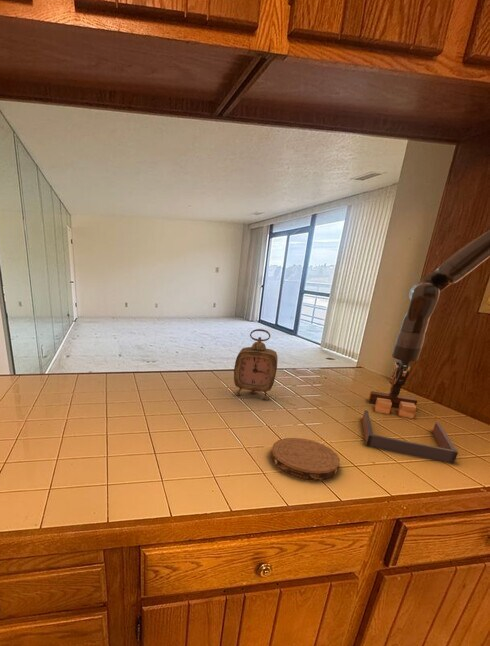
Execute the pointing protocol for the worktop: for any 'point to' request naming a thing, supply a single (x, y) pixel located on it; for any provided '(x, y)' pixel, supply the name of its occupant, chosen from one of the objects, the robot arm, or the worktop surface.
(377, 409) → the cube
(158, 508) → the worktop surface
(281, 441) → the brown disc
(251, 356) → the tabletop clock
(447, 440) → the corral
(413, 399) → the brush
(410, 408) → the cube
